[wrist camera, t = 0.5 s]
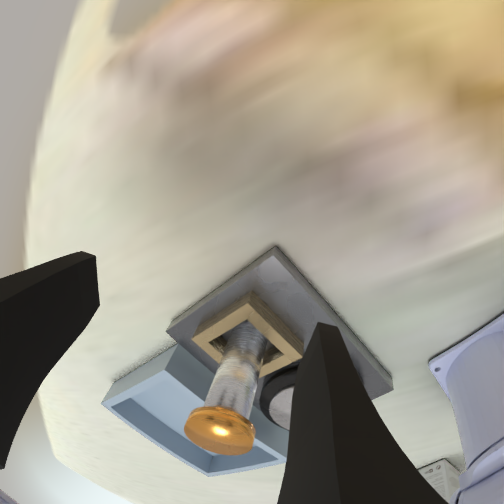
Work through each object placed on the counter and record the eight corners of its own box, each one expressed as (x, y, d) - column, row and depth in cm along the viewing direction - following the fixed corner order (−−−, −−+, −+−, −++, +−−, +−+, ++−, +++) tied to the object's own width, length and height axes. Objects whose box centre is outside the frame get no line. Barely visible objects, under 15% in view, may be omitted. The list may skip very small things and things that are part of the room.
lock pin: (286, 341, 20) (267, 448, 13) (248, 360, 22) (219, 459, 15) (251, 306, 19) (215, 412, 12) (213, 329, 21) (170, 427, 14)
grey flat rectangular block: (393, 380, 22) (398, 411, 19) (292, 422, 26) (288, 450, 23) (275, 245, 19) (268, 272, 16) (171, 321, 23) (154, 348, 20)
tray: (295, 435, 27) (291, 461, 24) (215, 456, 32) (208, 476, 29) (178, 342, 24) (164, 369, 21) (113, 382, 29) (100, 403, 26)
